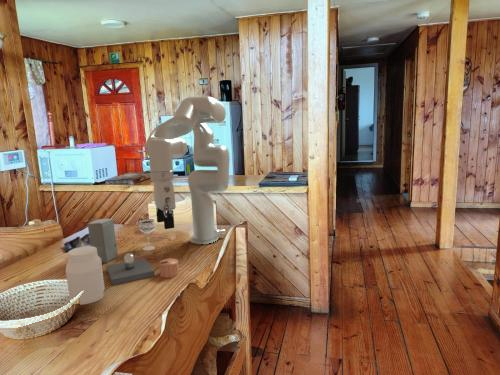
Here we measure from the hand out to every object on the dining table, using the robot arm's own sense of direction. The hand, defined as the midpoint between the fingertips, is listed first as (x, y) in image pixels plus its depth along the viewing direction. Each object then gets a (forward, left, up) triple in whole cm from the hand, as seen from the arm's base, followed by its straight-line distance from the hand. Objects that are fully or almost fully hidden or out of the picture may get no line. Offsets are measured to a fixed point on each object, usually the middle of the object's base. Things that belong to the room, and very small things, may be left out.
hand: (165, 224), depth 130 cm
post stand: (+12, -8, -18) cm, 23 cm away
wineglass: (0, -31, -18) cm, 36 cm away
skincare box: (+18, -28, -18) cm, 38 cm away
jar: (+27, +3, -18) cm, 33 cm away
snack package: (+26, -49, -19) cm, 59 cm away
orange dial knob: (0, 0, -18) cm, 18 cm away
